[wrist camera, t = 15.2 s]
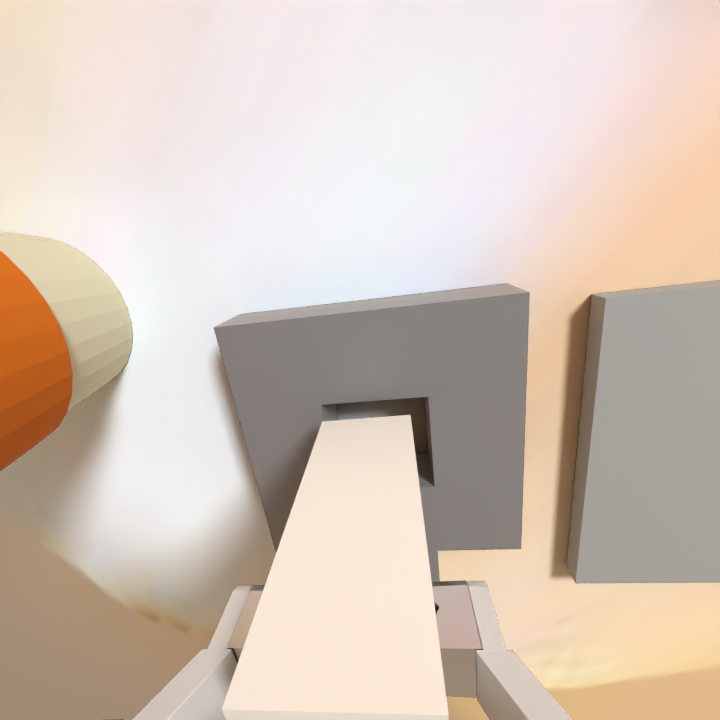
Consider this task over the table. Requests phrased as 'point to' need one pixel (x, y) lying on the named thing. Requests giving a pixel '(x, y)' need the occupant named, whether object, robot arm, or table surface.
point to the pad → (649, 439)
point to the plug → (348, 591)
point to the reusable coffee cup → (53, 336)
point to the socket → (394, 381)
